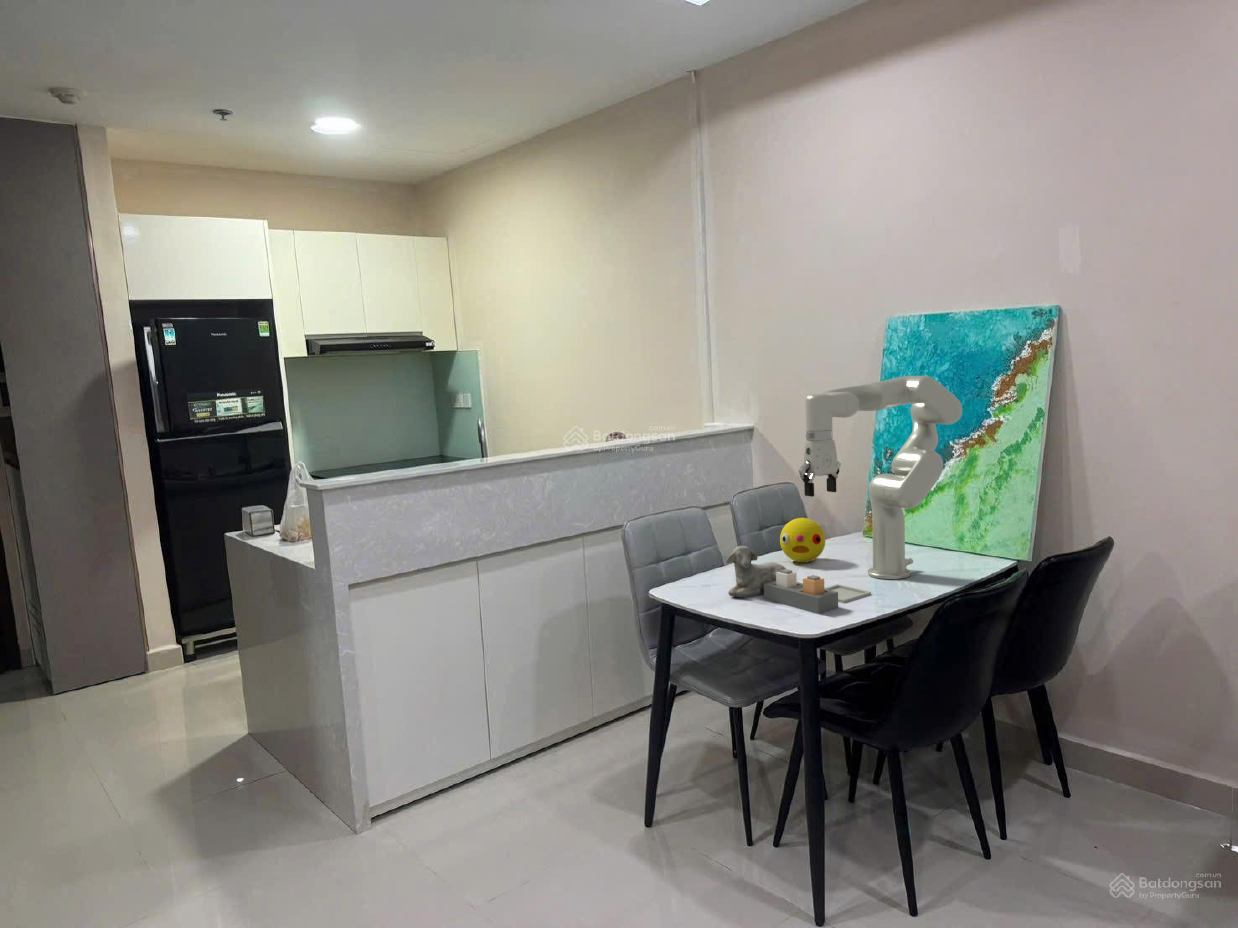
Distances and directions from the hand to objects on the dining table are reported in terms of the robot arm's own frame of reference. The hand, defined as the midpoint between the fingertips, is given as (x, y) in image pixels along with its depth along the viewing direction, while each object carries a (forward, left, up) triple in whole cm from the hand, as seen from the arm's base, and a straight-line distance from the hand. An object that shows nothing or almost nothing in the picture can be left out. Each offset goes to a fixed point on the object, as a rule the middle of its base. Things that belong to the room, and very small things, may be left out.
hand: (820, 493), depth 242 cm
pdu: (+19, +8, -28) cm, 35 cm away
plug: (+18, +13, -27) cm, 35 cm away
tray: (+4, +10, -28) cm, 30 cm away
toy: (-19, -25, -28) cm, 42 cm away
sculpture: (+17, -9, -29) cm, 34 cm away
